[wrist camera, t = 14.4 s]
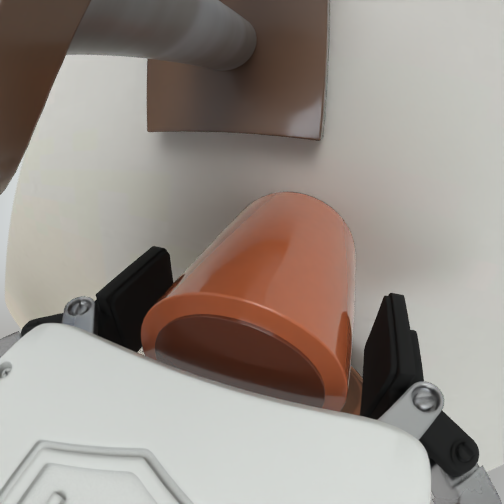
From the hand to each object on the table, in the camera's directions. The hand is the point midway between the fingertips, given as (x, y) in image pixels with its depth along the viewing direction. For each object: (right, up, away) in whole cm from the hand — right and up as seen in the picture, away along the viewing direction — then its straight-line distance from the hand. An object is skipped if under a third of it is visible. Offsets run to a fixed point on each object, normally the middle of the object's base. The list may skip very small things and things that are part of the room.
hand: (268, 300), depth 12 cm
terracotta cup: (+1, +2, +3) cm, 4 cm away
